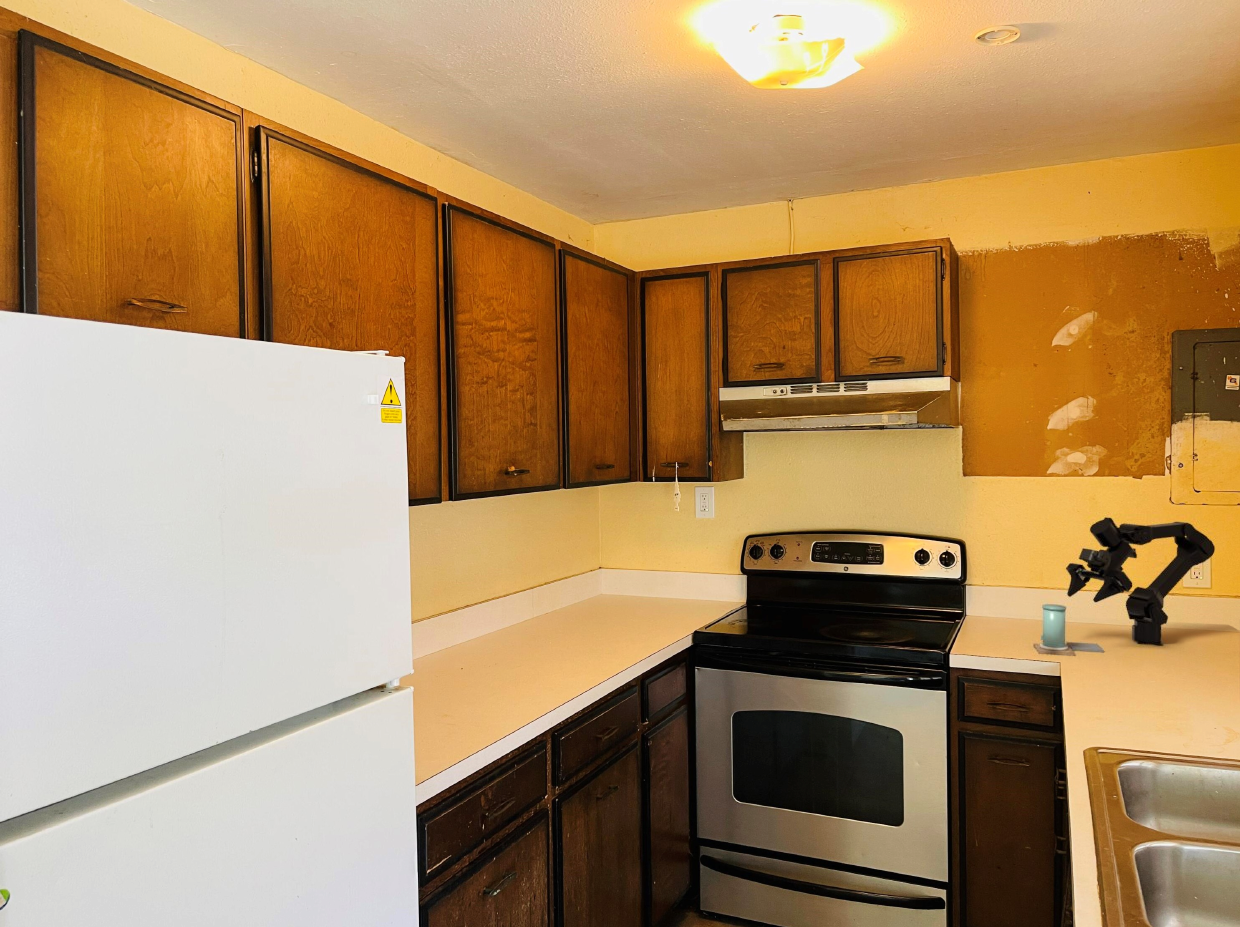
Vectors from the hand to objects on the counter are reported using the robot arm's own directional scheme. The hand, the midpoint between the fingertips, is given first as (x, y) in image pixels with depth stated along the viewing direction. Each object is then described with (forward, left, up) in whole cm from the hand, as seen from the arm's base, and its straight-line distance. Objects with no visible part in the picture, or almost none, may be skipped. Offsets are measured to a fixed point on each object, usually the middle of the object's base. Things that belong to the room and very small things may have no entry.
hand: (1081, 598), depth 251 cm
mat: (-1, -1, -14) cm, 14 cm away
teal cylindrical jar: (+8, +5, -13) cm, 16 cm away
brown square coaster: (+8, +5, -14) cm, 17 cm away
